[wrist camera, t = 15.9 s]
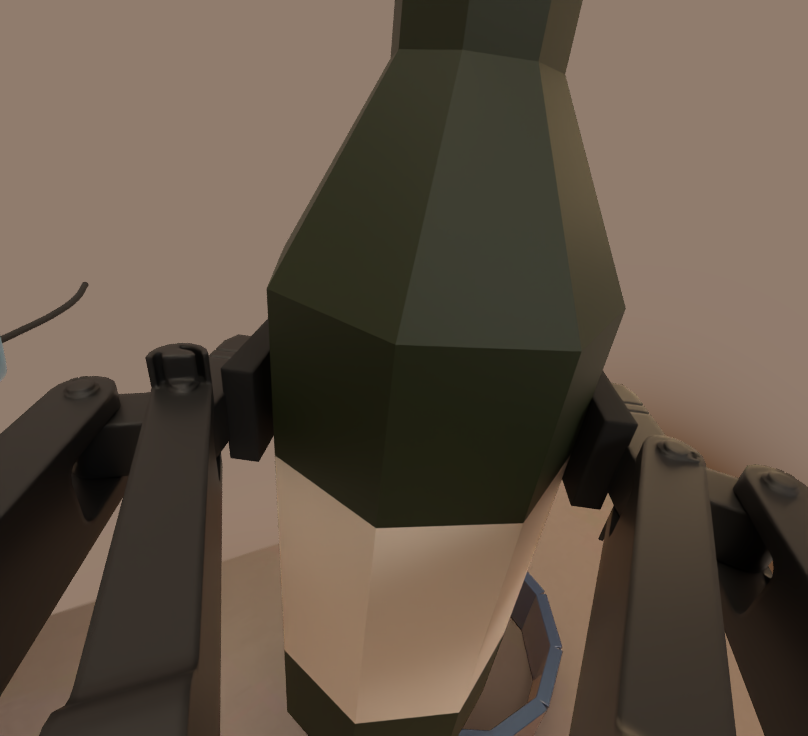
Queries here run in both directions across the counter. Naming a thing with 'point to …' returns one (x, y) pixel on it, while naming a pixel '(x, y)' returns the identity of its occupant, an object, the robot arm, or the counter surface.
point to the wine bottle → (433, 365)
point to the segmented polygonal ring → (532, 661)
